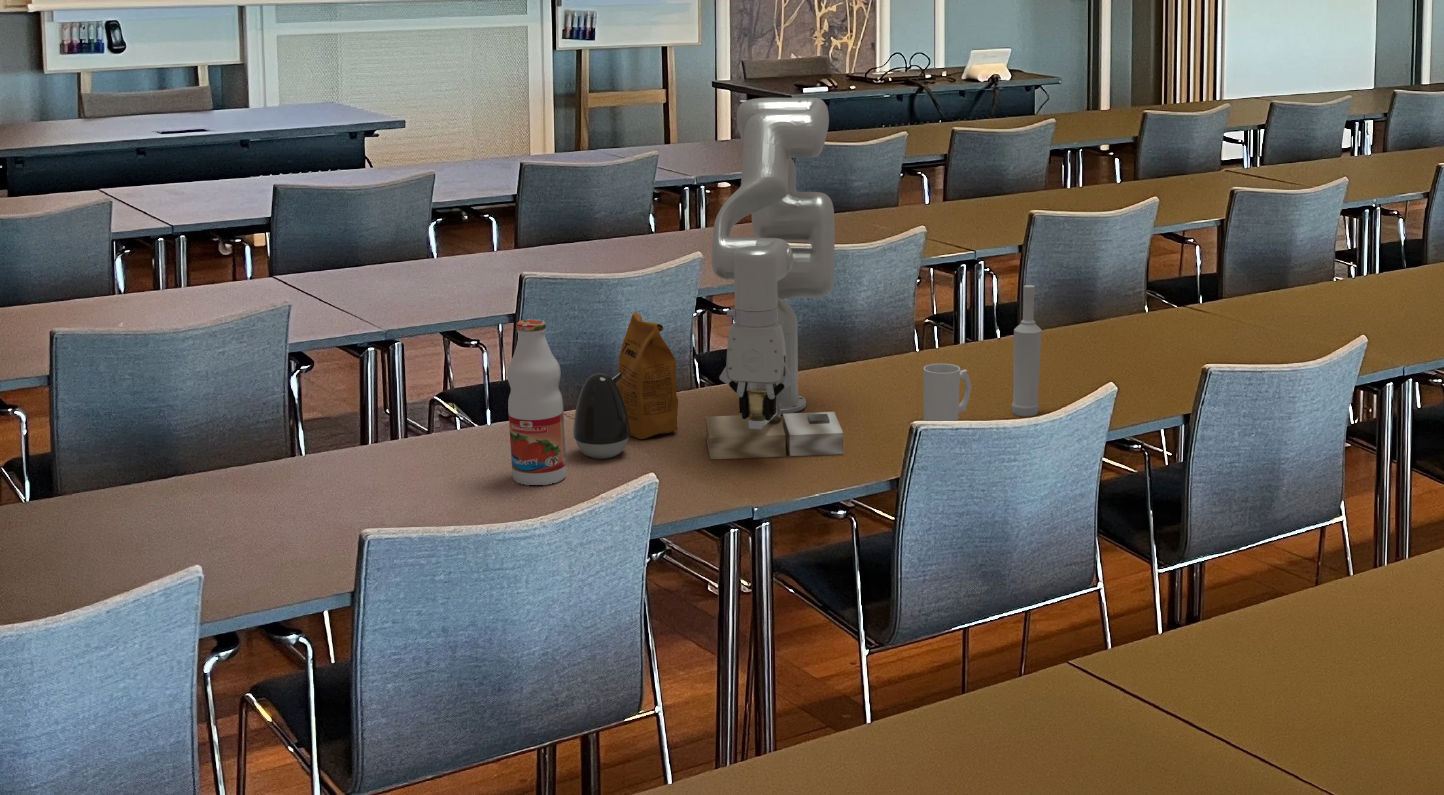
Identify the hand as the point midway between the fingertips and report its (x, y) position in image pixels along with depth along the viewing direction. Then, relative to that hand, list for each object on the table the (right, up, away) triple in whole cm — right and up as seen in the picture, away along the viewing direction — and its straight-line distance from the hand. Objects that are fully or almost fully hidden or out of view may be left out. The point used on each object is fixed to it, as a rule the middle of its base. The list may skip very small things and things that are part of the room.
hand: (757, 416), depth 295 cm
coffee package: (-20, -3, +20) cm, 29 cm away
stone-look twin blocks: (+3, -5, +9) cm, 11 cm away
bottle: (+52, 0, +25) cm, 58 cm away
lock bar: (+1, -2, +5) cm, 6 cm away
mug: (+36, -3, +17) cm, 40 cm away
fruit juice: (-38, -11, -6) cm, 40 cm away
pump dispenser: (-28, -7, +6) cm, 29 cm away
